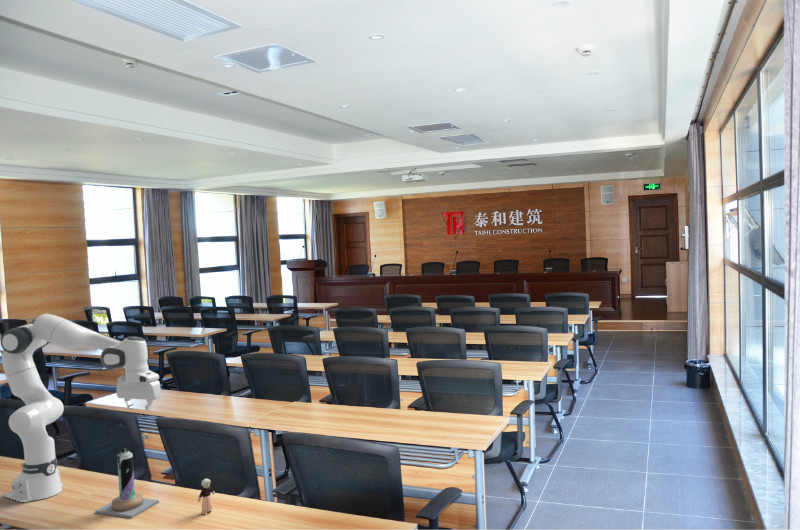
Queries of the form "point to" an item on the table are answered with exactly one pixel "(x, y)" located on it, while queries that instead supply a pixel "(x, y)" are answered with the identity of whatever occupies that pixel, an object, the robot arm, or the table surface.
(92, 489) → the table surface
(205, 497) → the grandmother figurine
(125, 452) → the spray can
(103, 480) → the table surface
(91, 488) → the table surface
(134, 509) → the display stand
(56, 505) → the table surface
